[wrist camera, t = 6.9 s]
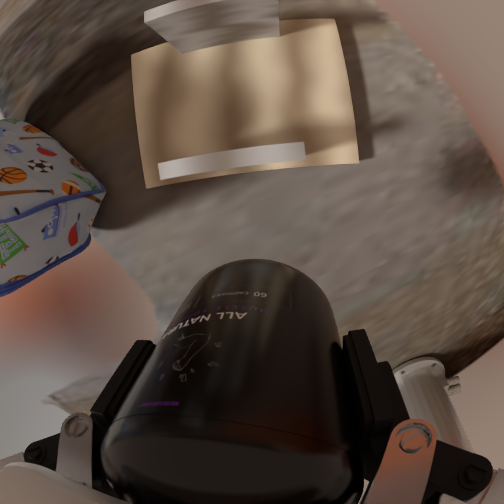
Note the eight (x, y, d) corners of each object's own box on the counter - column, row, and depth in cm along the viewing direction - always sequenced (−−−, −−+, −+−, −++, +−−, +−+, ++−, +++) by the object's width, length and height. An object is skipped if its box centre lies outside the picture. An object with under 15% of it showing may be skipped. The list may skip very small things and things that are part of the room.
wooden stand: (331, 26, 22) (352, -25, 11) (354, 162, 27) (393, 169, 17) (138, 59, 25) (83, 32, 14) (154, 186, 30) (97, 205, 20)
